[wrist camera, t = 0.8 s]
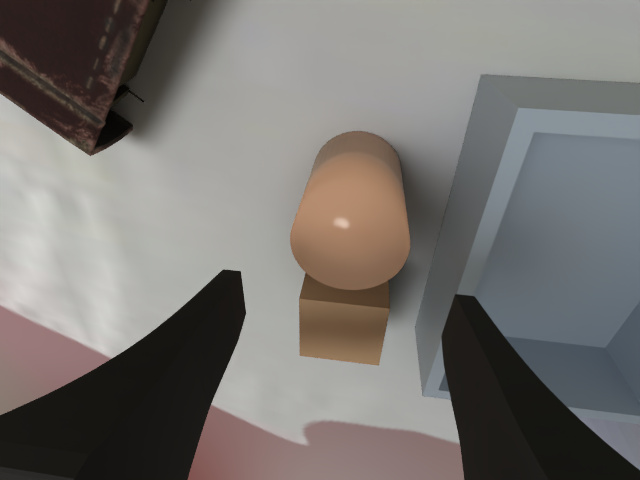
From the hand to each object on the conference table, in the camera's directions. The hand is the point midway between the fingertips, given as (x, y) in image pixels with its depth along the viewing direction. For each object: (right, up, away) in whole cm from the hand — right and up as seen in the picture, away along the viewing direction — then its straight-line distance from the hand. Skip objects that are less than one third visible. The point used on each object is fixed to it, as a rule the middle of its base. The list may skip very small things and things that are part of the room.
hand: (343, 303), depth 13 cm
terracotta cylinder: (+1, +6, +9) cm, 10 cm away
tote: (+13, +2, +9) cm, 16 cm away
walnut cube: (+1, -1, +13) cm, 13 cm away
